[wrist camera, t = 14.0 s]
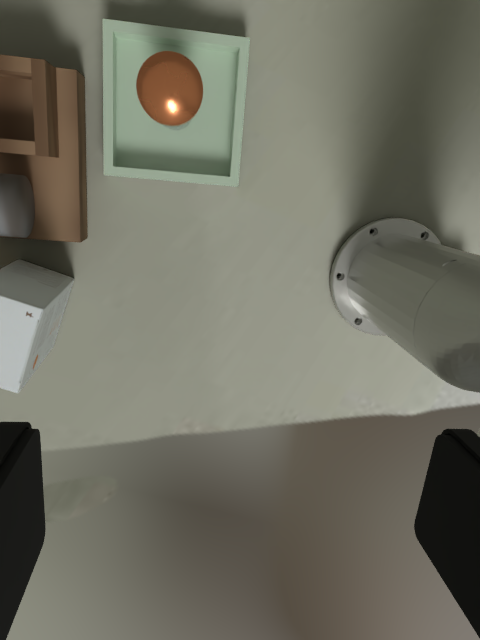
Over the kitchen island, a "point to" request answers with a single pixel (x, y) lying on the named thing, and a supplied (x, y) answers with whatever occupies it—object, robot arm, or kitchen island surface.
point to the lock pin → (170, 89)
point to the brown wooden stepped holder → (42, 151)
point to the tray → (154, 138)
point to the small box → (28, 319)
